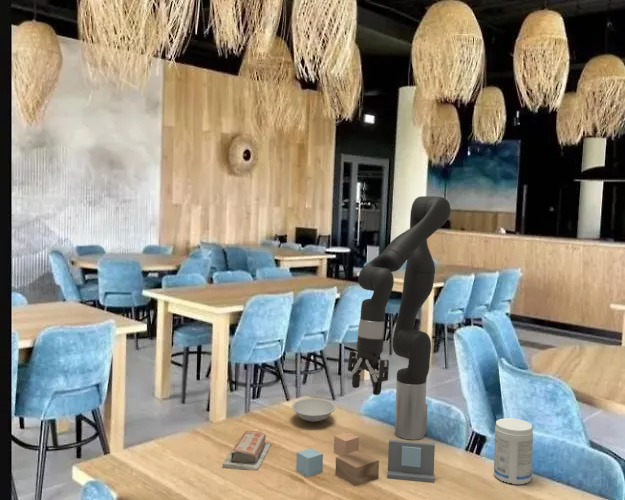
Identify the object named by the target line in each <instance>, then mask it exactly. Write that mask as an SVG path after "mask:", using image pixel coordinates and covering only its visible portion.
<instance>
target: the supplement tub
mask: <svg viewBox="0 0 625 500" xmlns="http://www.w3.org/2000/svg"><path fill="white" fill-rule="evenodd" d="M533 445H534V431H533V425H532V424H531V423H530V422H529V421H526V420H523V419H519V418H515V417H514V418H513V417H510V418H509V417H507V418H505V417H504V418H500V419H497V420H496V421H495V427H494V451H493V454H494V456H493V460H494V461H493V474H494V476H495V478H496V479H498V480H499V481H501V482H503V481H504V482H503V483H506V482H507V483H506V484H509V483H512V484H511V485H525V483H526V484H528V483H529V482H531V481H532V476H533V473H532V472H533Z"/></svg>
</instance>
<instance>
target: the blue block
mask: <svg viewBox="0 0 625 500" xmlns="http://www.w3.org/2000/svg"><path fill="white" fill-rule="evenodd" d="M323 461H324V453H322V452H320V451H318V450H316V449H314V448H313V447H310V448H306V449H302V450H300V451H297V452H296V465H295V466H296V470H295V471H297V472H299V473H301V474H303V475H305V476H306V477H308V478H309V477H311V476H315V475H317V474H321V473H323V471H324V470H323V465H324V462H323Z"/></svg>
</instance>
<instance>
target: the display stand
mask: <svg viewBox="0 0 625 500" xmlns="http://www.w3.org/2000/svg"><path fill="white" fill-rule="evenodd" d="M435 449H436V443H435V442H426V441H425V442H424V441H413V440H401V439H391V438H389V439H388V449H387V450H388V452H387V474H386V475H387V476H386V478H387V479H393V480H405V481H414V482H424V483H434V482H435V474H434V473H435V455H436V454H435V452H436V451H435Z"/></svg>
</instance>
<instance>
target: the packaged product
mask: <svg viewBox="0 0 625 500" xmlns="http://www.w3.org/2000/svg"><path fill="white" fill-rule="evenodd" d="M266 437H267V435H266V433H264V432H263V431H255V430H245V431H244V433H243V434H242V436H241V437H240V439H238V440H237V442H236V444H235V445H234V446H233V448H232V449H231V451H230V452H229V454H228V455H227V456H226V458H225V459H224V461H223V462H222V468H224V469H233V470H234V469H235V470H249V471H259V469H260V467H261V465H262V463H263V461H264V460H265V457H266V456H267V455H268V452H269V450H270V448H271V446H272V442H266V439H267V438H266Z"/></svg>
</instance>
